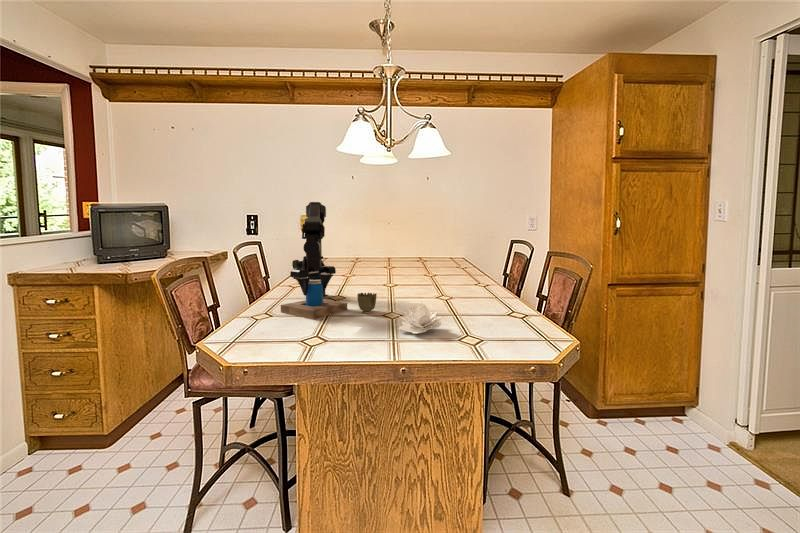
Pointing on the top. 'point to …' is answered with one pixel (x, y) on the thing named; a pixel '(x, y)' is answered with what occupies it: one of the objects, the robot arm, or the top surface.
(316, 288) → the beverage can
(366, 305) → the cup
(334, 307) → the can holder
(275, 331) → the top surface
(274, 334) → the top surface
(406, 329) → the lotus flower
